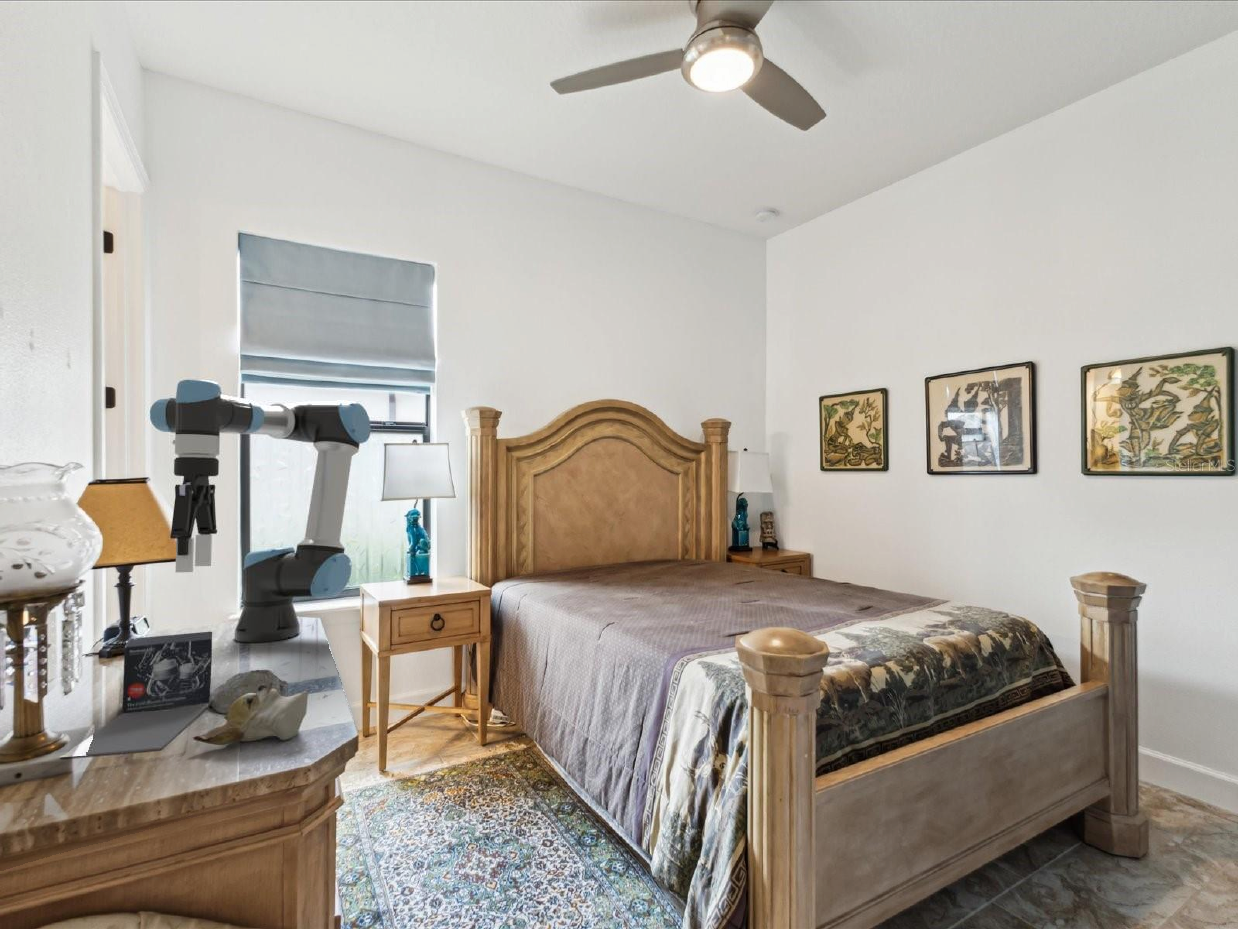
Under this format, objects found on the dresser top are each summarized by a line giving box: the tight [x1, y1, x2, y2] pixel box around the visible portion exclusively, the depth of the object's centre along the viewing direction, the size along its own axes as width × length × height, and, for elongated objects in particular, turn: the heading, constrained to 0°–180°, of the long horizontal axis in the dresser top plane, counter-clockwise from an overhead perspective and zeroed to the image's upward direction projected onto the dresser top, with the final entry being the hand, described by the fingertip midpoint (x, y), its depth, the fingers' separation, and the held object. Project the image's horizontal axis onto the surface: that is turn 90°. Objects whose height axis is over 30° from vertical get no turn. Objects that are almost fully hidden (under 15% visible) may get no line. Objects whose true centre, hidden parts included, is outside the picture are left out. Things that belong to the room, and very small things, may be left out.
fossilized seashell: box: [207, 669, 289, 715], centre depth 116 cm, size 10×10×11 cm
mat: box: [86, 706, 208, 757], centre depth 103 cm, size 18×13×1 cm
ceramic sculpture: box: [192, 685, 309, 746], centre depth 100 cm, size 11×9×15 cm
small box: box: [121, 631, 213, 714], centre depth 116 cm, size 13×7×12 cm, turn 123°
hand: (194, 568), depth 126 cm, fingers open, 9 cm apart
